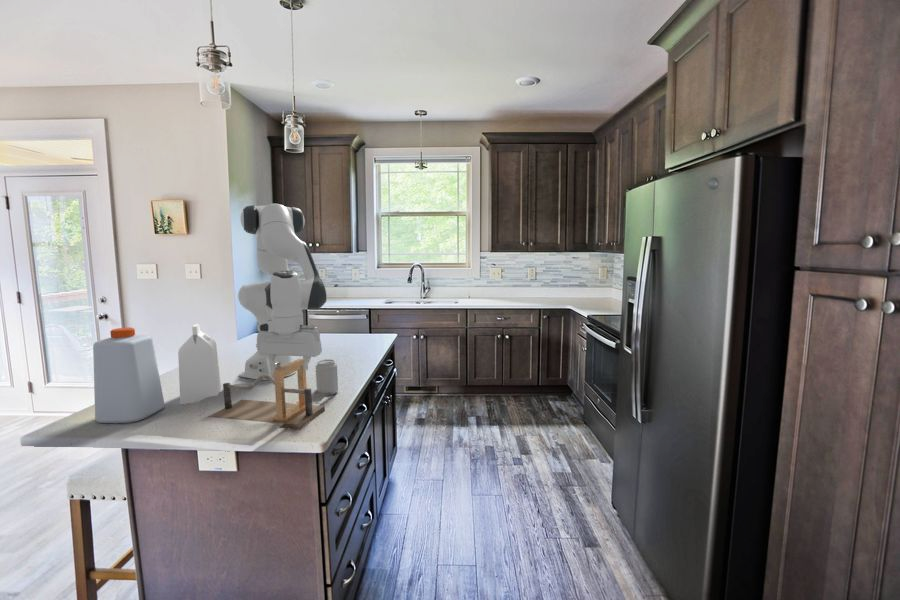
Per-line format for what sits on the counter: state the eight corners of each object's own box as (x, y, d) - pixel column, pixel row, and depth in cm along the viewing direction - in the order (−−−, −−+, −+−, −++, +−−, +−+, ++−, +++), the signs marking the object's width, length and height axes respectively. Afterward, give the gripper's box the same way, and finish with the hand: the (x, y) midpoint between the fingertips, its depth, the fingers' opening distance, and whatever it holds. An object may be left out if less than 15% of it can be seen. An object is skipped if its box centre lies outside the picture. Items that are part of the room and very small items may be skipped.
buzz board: (208, 421, 131) (204, 379, 129) (242, 403, 145) (239, 365, 144) (298, 429, 124) (295, 385, 122) (324, 410, 138) (322, 370, 137)
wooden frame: (272, 420, 127) (269, 369, 125) (298, 405, 139) (295, 358, 138) (287, 422, 126) (284, 370, 124) (311, 406, 138) (309, 359, 136)
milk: (186, 393, 156) (179, 323, 153) (221, 389, 161) (216, 321, 158) (180, 404, 145) (173, 329, 142) (218, 399, 150) (212, 326, 147)
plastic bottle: (127, 406, 145) (118, 324, 141) (170, 406, 144) (162, 324, 141) (88, 424, 130) (77, 334, 126) (136, 424, 129) (127, 333, 126)
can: (332, 397, 151) (330, 364, 149) (313, 396, 152) (311, 363, 151) (341, 390, 158) (340, 358, 157) (323, 389, 160) (321, 357, 158)
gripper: (324, 323, 130) (326, 368, 132) (265, 322, 134) (268, 364, 136) (313, 327, 124) (315, 374, 125) (252, 325, 128) (255, 370, 130)
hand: (290, 369), depth 131 cm, fingers open, 8 cm apart
